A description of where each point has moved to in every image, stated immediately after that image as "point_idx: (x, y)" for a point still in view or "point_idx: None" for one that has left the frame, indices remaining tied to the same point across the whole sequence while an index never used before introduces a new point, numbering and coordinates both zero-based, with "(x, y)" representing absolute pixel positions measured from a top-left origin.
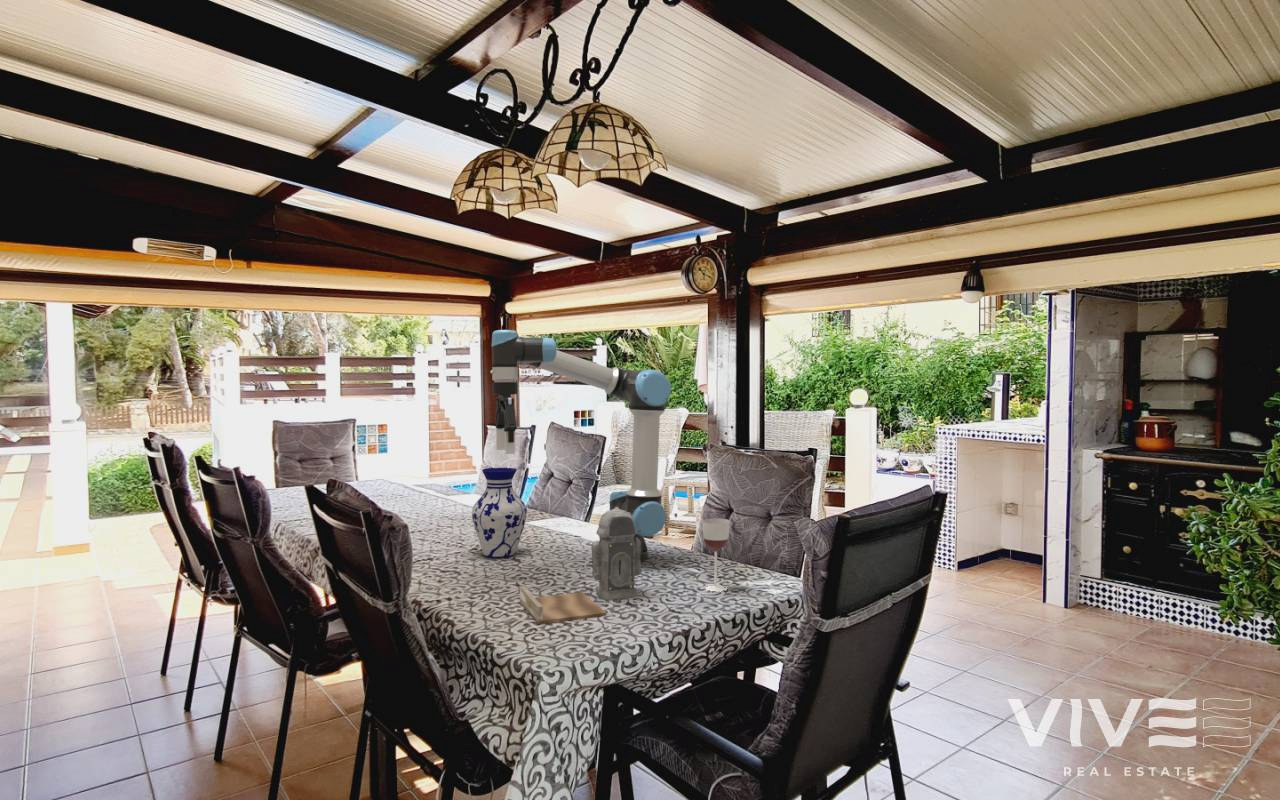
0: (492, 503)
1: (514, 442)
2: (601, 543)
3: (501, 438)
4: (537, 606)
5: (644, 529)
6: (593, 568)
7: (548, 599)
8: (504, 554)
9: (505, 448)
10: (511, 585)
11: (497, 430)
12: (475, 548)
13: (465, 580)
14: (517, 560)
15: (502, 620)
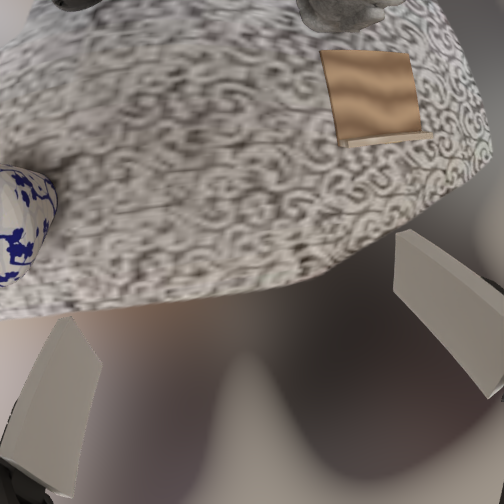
0: (9, 249)
1: (466, 271)
2: (380, 5)
3: (61, 406)
4: (430, 138)
5: None
6: (353, 28)
7: (349, 105)
8: (52, 189)
9: (412, 310)
10: (242, 155)
11: (69, 485)
12: None
13: (198, 236)
14: (69, 160)
15: (400, 174)
